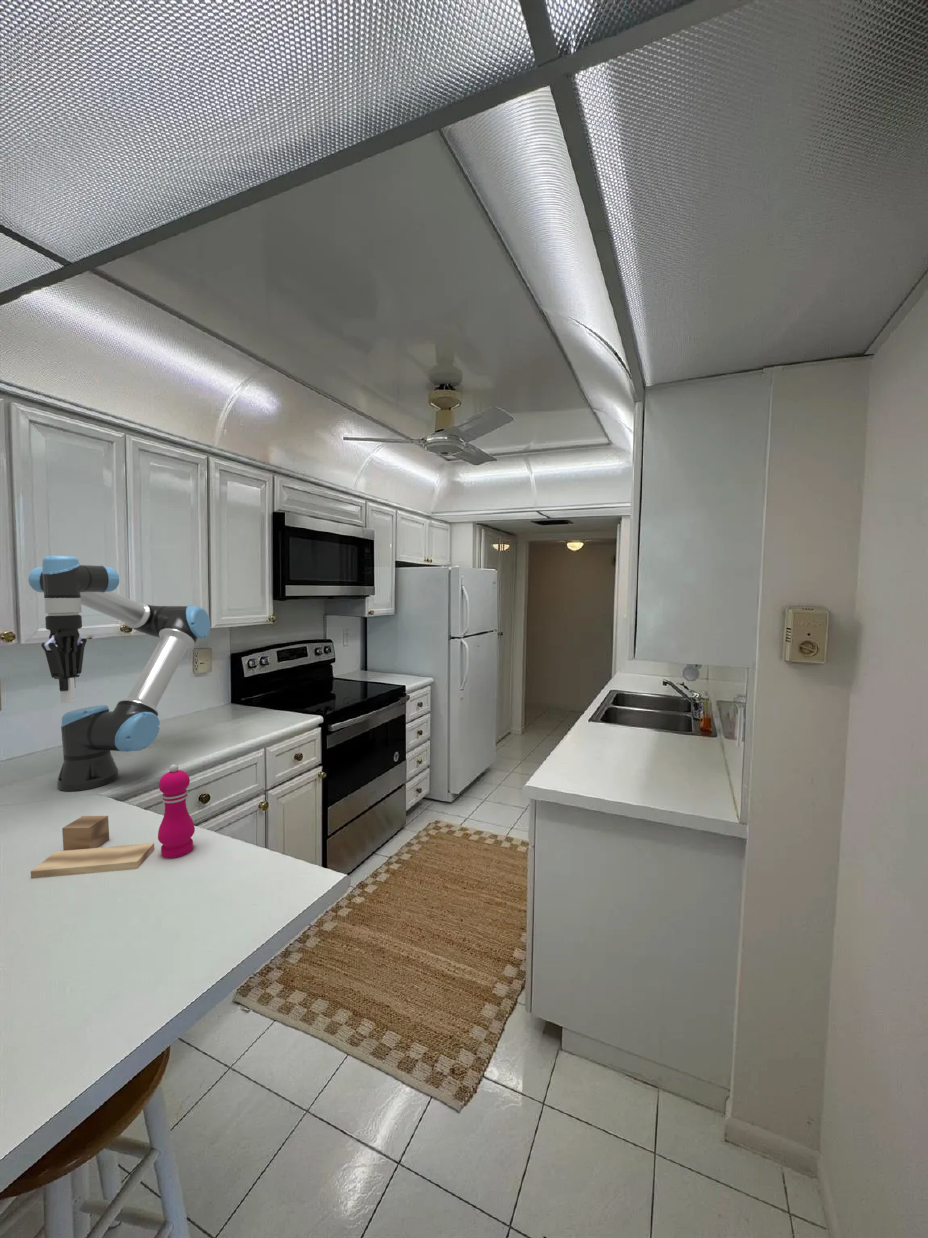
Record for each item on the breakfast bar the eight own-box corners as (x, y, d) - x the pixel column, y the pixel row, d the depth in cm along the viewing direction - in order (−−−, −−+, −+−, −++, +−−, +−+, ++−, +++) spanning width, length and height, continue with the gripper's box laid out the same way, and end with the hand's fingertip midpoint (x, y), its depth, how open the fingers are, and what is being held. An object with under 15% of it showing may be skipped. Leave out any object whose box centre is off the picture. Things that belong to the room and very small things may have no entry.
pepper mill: (202, 843, 115) (199, 759, 114) (181, 860, 108) (177, 770, 107) (173, 842, 116) (169, 758, 115) (150, 859, 109) (146, 769, 108)
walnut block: (84, 840, 117) (82, 816, 117) (109, 840, 117) (108, 815, 117) (63, 854, 111) (62, 828, 111) (90, 853, 111) (88, 828, 111)
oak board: (56, 860, 110) (55, 851, 110) (154, 851, 113) (154, 843, 113) (31, 880, 102) (30, 871, 102) (137, 871, 105) (136, 861, 105)
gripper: (67, 613, 138) (72, 697, 139) (28, 615, 125) (33, 708, 126) (95, 613, 138) (99, 696, 139) (59, 615, 125) (64, 707, 126)
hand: (68, 702), depth 133 cm, fingers closed
